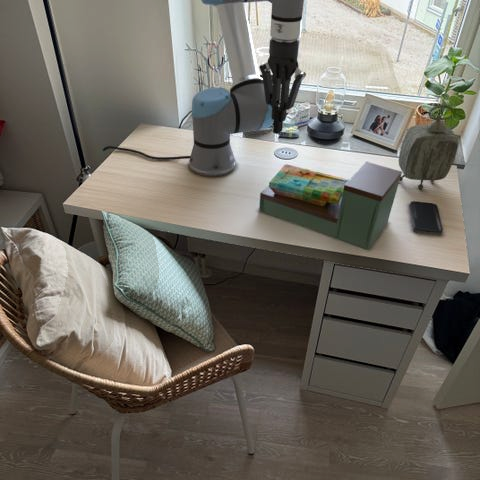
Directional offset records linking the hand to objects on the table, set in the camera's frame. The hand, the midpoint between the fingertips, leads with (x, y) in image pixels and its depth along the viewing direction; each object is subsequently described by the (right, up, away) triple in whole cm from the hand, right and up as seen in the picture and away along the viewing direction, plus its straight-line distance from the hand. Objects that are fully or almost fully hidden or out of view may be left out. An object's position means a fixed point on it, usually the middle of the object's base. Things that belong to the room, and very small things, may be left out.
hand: (277, 131), depth 133 cm
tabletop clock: (+46, -11, +17) cm, 50 cm away
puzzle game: (+9, -18, 0) cm, 20 cm away
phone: (+43, -24, +3) cm, 50 cm away
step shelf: (+13, -24, +3) cm, 27 cm away
